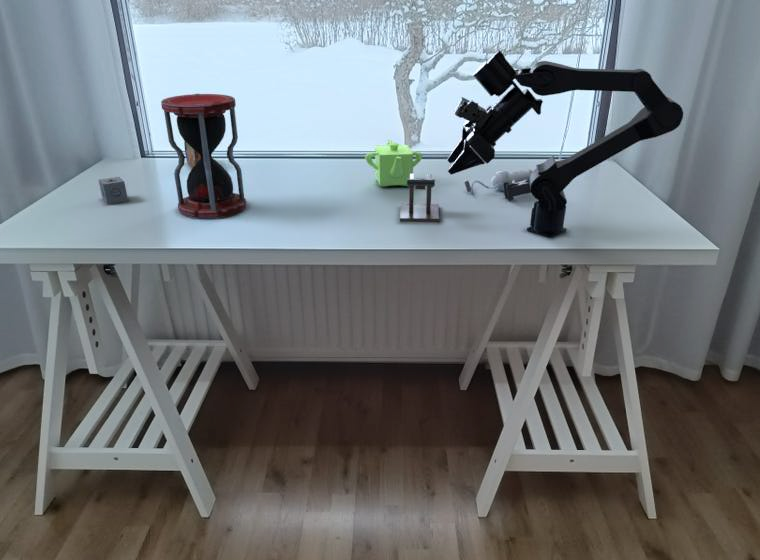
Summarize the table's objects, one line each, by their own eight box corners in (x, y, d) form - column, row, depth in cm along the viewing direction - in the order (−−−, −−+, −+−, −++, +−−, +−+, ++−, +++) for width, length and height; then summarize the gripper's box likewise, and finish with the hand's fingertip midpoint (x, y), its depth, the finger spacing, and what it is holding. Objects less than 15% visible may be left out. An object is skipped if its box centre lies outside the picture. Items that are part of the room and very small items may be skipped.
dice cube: (107, 204, 162) (103, 184, 159) (102, 199, 165) (98, 179, 163) (128, 201, 164) (124, 181, 162) (122, 196, 168) (118, 176, 165)
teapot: (399, 195, 169) (399, 152, 164) (357, 186, 176) (356, 145, 170) (429, 181, 180) (430, 141, 175) (388, 173, 186) (388, 135, 181)
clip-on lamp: (466, 210, 168) (537, 198, 164) (462, 186, 164) (535, 173, 160) (467, 192, 177) (534, 180, 173) (463, 169, 174) (532, 157, 170)
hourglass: (178, 221, 151) (160, 107, 138) (178, 201, 164) (161, 94, 152) (249, 215, 155) (237, 103, 142) (243, 196, 168) (232, 92, 155)
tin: (185, 161, 198) (181, 132, 194) (196, 160, 199) (192, 131, 195) (195, 173, 186) (191, 143, 182) (206, 172, 188) (202, 141, 183)
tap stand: (439, 223, 150) (441, 183, 145) (399, 223, 151) (400, 182, 146) (438, 208, 160) (439, 170, 155) (401, 208, 160) (401, 169, 155)
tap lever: (434, 188, 142) (435, 176, 141) (406, 188, 142) (407, 176, 142) (433, 189, 153) (433, 179, 152) (407, 189, 153) (407, 178, 152)
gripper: (477, 77, 140) (423, 130, 146) (482, 91, 124) (422, 150, 130) (510, 116, 144) (457, 166, 150) (520, 134, 128) (459, 189, 134)
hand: (449, 167), depth 141 cm, fingers open, 9 cm apart
